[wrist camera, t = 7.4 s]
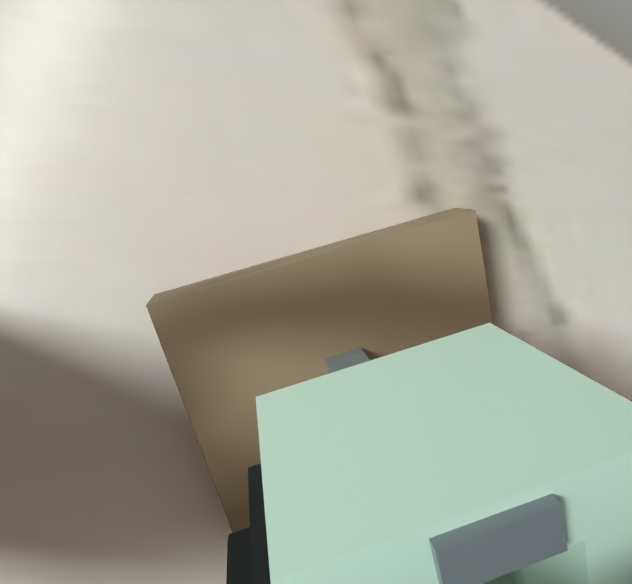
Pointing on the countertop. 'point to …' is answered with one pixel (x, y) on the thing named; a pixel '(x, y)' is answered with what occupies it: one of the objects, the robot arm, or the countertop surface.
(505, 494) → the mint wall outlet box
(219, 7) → the countertop surface
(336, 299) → the base plate
